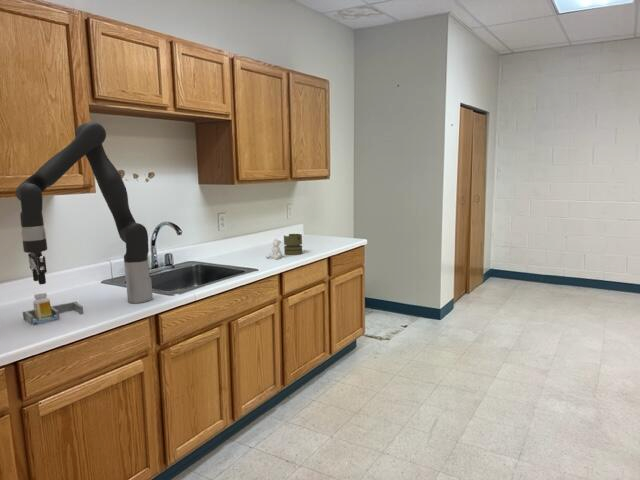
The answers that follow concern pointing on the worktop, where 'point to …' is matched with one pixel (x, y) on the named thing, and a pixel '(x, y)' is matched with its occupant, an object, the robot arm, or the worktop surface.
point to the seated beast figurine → (275, 251)
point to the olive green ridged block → (293, 244)
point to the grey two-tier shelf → (54, 311)
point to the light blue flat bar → (45, 320)
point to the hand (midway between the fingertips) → (39, 282)
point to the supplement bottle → (42, 307)
